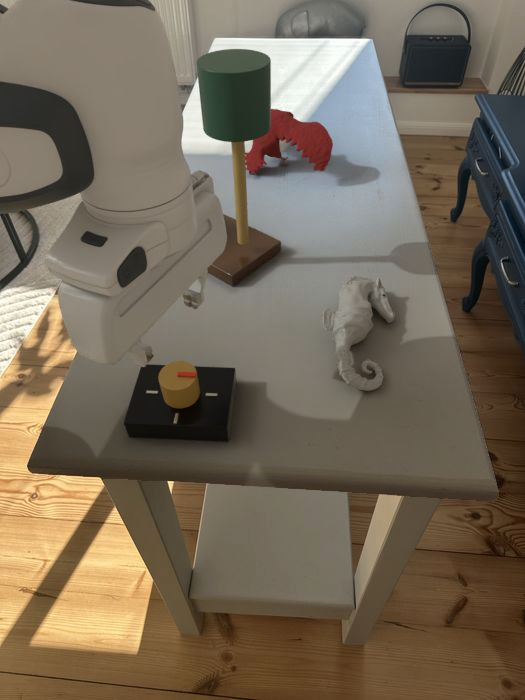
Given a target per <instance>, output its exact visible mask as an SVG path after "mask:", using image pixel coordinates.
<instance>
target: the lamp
mask: <svg viewBox="0 0 525 700" xmlns="http://www.w3.org/2000/svg"><path fill="white" fill-rule="evenodd" d="M195 63H196V72H197V82H198V92H199V100H200V110H201V120H202V129H203V132H204V134H205V135H206V136H207V137H209V138H211V139H213V140H216V141H220V142H226V143H230V144H231V160H232V174H233V189H234V191H233V192H234V203H235V204H234V207H235V220H236V224H237V239H238V243H239V244H241V245H245V244H247V243H248V242H249V233H248V226H249V215H248V213H249V211H248V191H247V189H248V187H247V170H246V168H247V165H246V164H245V163H246V160H245V156H246V155H245V153H246V146H245V144H246V142H251V141H253V140H254V139H258V138H260V137H262V136H264V135H266V134H267V133H268V132H269V131H270V129H271V109H272V59H271V57H270V56H269V55H268V54H267V53H264V52H262V51H258V50H254V49H247V48H227V49H220V50H214V51H210V52H208V53H205V54H203V55H201V56H199V57H198V58H197V60H196V62H195Z"/></svg>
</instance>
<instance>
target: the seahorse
mask: <svg viewBox="0 0 525 700" xmlns="http://www.w3.org/2000/svg"><path fill="white" fill-rule="evenodd" d="M386 292H387V291H386V288H385V286H384V285H383V283H382V280H381V278H380V276H377V277H376V280H373V279H371V278H369V277H365V276H361V275H354V276H350V277H349V278H348V279H346V281H345V283H343V285H342V286H341V289H340V291H338V304H337V310H336V311H334V310H332V309H330V308H325V309H324V310H323V312H322V317H321V318H322V321H321V322H322V327H323V329H325V331H328V332H330V331H332V332H331V341H332V342H333V343H335V353H334V357H335V366H336V368H337V370H338V375H339V376H340V377H341V378H342V380H344V381H345V382H346V385H348V386H350V387H352V388H355V389H357V390H358V391H364V392H365V391H367V392H371V391H374V390H377V389H379V388H380V387H381V386H382V385H383V381H384V377H385V376H384V374H383V369H382V368H381V367H380V366H379V364H378V362H375V361H372V360H371V359H369V358H368V359H366V360H364V361H362V363H361V364H360V367H361V371H362V372H363V373H365V374H367V375H371V374H372V373H373V371H374V374H375V376H374V378H372V379H368V378H367V377H364V376H361V374H358V373H356V369H355V368H353V365H352V360H351V352H350V351H351V347H352V346H353V345H356V344H359V343H360V342H362V341H364V339H365V338H366V337H367V335H368V333H370V331H371V330H372V329H373V328H374V323H373V321H372V317H373V315H374V312H373V309H372V308H374V309H375V310H376V311H377V312H378V315H379V316H380V317H382V318H383V319H384V320H385V322H386V323H387V324H391V323H392V322H394V320H395V317H396V313H395V312H394V311H393V309H392V307H391V305H390V302H389V298H388V295H387V293H386ZM368 368H370V369H372V370H369V369H368Z"/></svg>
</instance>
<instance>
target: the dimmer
mask: <svg viewBox="0 0 525 700" xmlns="http://www.w3.org/2000/svg"><path fill="white" fill-rule="evenodd" d="M166 365H167V364H149V363H148V364H147V365H146V366H145V367H141V366H140V369H139V372H138V375H137V378H136V381H135V385H134V387H133V391H132V395H131V396H130V397H131V398H130V401H129V403H128V407H127V410H126V412H125V413H126V414H125V416H124V420H123V425H124V429H125V430H126V433H127V436H128V437H129V438H138V439H141V438H142V439H162V440H181V441H183V440H184V441H203V442H205V441H206V442H225V443H229V442H230V436H231V429H232V420H233V414H234V406H235V398H236V392H237V391H236V390H237V372H236V371H237V370H236V367H224V366H223V367H222V366H198V365H197V366H196V365H193V366H194V367H195V369H196V371H197V376H198V382H199V388H200V396H199V398H198V400H197V401H196V402H195V403H194V404H193V405H191V406H189V407H186V408H173V407H171V406H169V405H168V404H167V403H166V402H165V401H164V398H163V394H162V391H161V387H160V383H159V379H158V376H159V373H160V371H161V369H162V368H163V367H164V366H166Z"/></svg>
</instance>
